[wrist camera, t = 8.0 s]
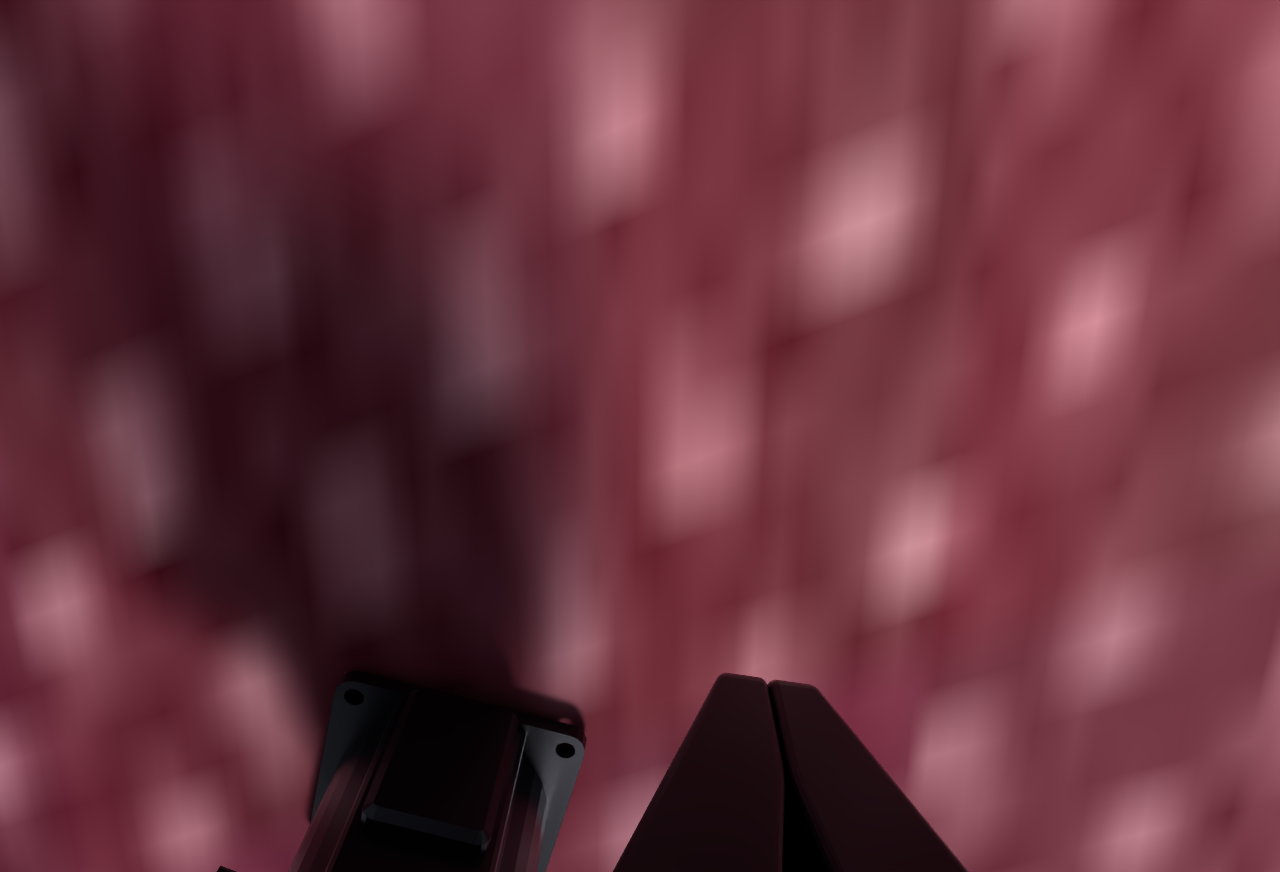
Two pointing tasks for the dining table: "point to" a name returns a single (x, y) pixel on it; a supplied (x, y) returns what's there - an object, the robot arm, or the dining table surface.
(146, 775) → the dining table surface
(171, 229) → the dining table surface
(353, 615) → the dining table surface
